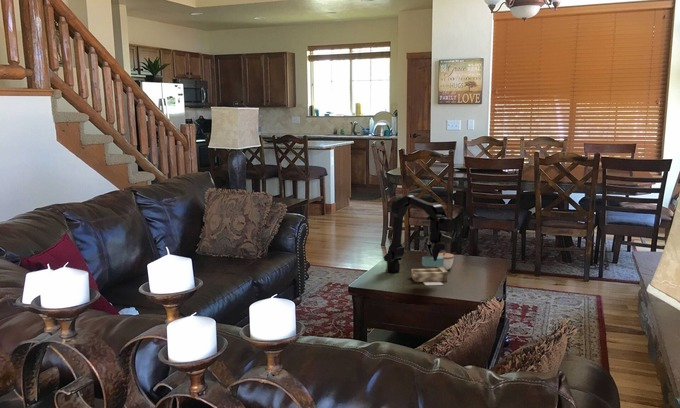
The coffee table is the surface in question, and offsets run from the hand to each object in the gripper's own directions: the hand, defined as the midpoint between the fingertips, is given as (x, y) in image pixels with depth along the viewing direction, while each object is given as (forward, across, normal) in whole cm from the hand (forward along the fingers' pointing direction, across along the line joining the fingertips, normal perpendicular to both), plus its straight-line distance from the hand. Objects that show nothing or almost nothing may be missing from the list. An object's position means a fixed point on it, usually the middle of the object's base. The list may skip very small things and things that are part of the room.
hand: (433, 259), depth 285 cm
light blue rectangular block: (+3, 0, +1) cm, 3 cm away
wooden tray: (+13, +8, -1) cm, 15 cm away
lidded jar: (+13, +28, -14) cm, 34 cm away
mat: (+13, 0, 0) cm, 13 cm away
